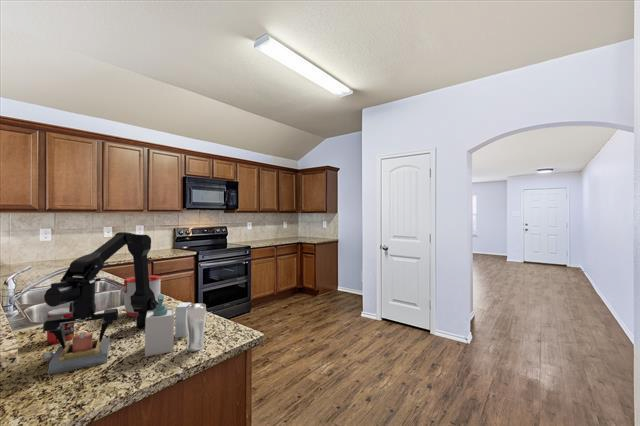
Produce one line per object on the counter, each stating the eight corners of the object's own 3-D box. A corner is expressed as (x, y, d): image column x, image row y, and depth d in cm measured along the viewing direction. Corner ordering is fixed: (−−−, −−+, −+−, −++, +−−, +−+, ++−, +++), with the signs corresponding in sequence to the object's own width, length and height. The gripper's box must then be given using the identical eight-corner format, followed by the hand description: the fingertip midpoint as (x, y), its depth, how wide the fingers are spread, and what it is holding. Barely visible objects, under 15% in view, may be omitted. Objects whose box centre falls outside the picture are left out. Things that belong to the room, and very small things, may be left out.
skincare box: (180, 331, 120) (181, 302, 120) (191, 331, 120) (191, 302, 120) (174, 337, 114) (175, 306, 114) (185, 337, 114) (186, 306, 114)
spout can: (92, 352, 99) (93, 327, 99) (90, 358, 95) (91, 332, 95) (73, 356, 97) (74, 330, 97) (70, 362, 92) (71, 335, 93)
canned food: (58, 345, 106) (58, 314, 106) (40, 342, 107) (41, 312, 108) (79, 336, 113) (80, 308, 113) (62, 334, 115) (63, 306, 115)
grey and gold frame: (109, 346, 106) (110, 334, 106) (107, 362, 94) (107, 349, 94) (46, 357, 96) (46, 345, 96) (34, 377, 85) (35, 363, 85)
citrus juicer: (115, 313, 140) (116, 272, 141) (155, 306, 152) (156, 268, 152) (121, 322, 129) (122, 277, 129) (164, 314, 141) (165, 272, 141)
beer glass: (209, 345, 107) (210, 304, 108) (196, 353, 101) (196, 309, 101) (194, 342, 110) (195, 302, 110) (180, 350, 103) (181, 307, 103)
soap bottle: (144, 357, 98) (145, 300, 98) (146, 346, 105) (147, 293, 106) (173, 352, 102) (174, 297, 102) (172, 342, 109) (174, 291, 110)
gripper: (119, 288, 108) (118, 331, 108) (51, 295, 98) (50, 342, 98) (117, 295, 99) (116, 342, 98) (43, 304, 89) (41, 355, 88)
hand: (82, 345), depth 96 cm, fingers open, 9 cm apart
